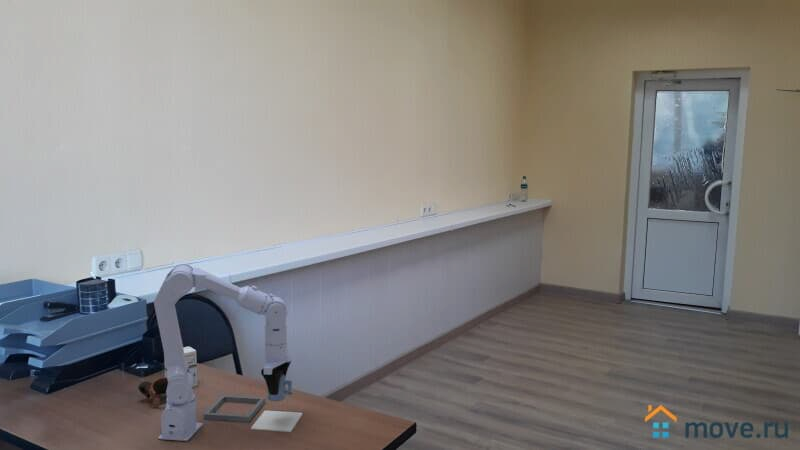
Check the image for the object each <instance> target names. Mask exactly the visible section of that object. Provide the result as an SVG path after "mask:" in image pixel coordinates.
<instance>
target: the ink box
mask: <svg viewBox="0 0 800 450" xmlns="http://www.w3.org/2000/svg"><path fill="white" fill-rule="evenodd" d="M183 349H184V354H185V359H186V361H187V363H188V367H189V370H190V371H191V372H192V373H193V375H194V384H193V387H192V388H195V387H198V369H197V368H198V365H197V364H198V363H197V361H198V360H197V350H196V349H194V348H193V347H191V346H185V347H184V346H183ZM163 356H164V357H163V359H164V361H163V362H164V377H167V365H166V360H165V355H163ZM167 387H168V385H167Z"/></svg>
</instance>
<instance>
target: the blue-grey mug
mask: <svg viewBox="0 0 800 450" xmlns="http://www.w3.org/2000/svg"><path fill="white" fill-rule="evenodd" d="M286 387H287V389H286ZM292 394H293V381H292V380H286V379H285V375H284V374H282V375H281V378H280V382H279V391H278V394H277V395H270V394H269V391H268V390H267V400H268V401H271V402H282V401H285V399H286V398H287V395H289V396H291V395H292Z"/></svg>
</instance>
